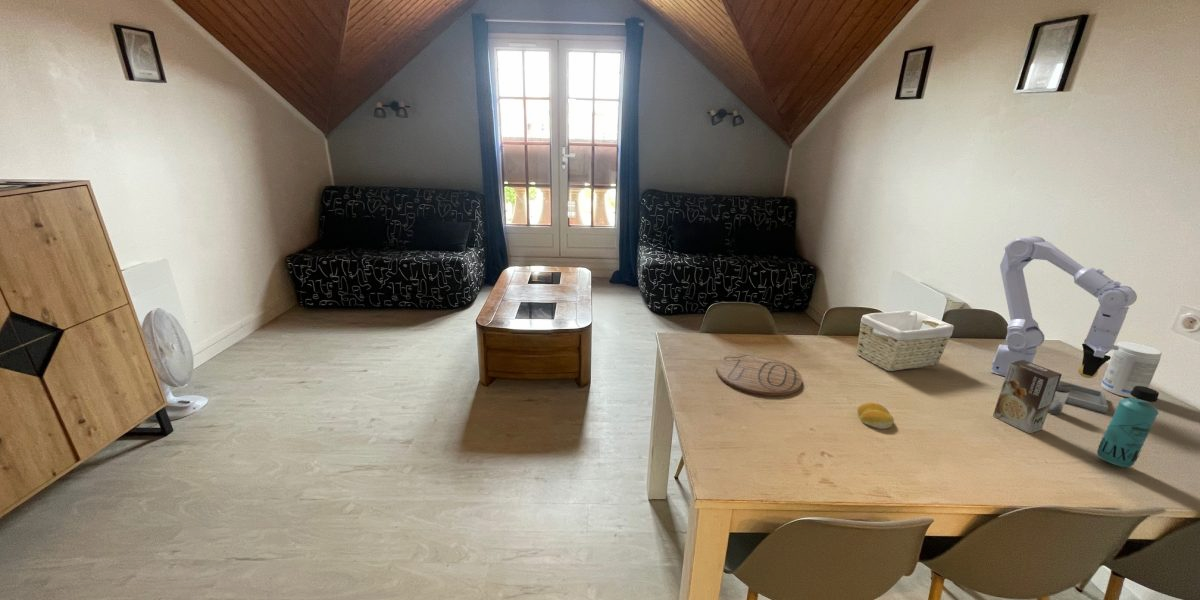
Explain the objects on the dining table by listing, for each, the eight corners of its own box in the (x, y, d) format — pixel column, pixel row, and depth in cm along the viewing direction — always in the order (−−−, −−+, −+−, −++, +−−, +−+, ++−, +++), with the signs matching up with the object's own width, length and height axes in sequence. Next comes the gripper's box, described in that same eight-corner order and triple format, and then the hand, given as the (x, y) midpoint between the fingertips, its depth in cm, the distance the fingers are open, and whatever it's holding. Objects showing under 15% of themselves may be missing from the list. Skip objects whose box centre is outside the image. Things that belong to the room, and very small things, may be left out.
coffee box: (1043, 429, 130) (1064, 374, 125) (1029, 434, 128) (1050, 378, 123) (1005, 411, 138) (1023, 359, 133) (990, 415, 136) (1008, 362, 130)
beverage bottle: (1085, 455, 120) (1117, 381, 113) (1110, 455, 121) (1143, 381, 114) (1114, 473, 114) (1149, 396, 107) (1140, 473, 114) (1177, 396, 108)
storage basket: (903, 347, 178) (913, 308, 174) (945, 367, 164) (958, 325, 159) (850, 354, 171) (859, 313, 166) (889, 375, 157) (901, 332, 152)
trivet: (709, 386, 146) (710, 380, 145) (722, 353, 168) (723, 348, 167) (800, 405, 137) (801, 399, 137) (801, 368, 159) (803, 363, 159)
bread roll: (863, 428, 128) (866, 414, 127) (853, 410, 136) (856, 397, 135) (898, 432, 127) (902, 418, 125) (885, 413, 135) (889, 400, 134)
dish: (1049, 398, 146) (1051, 392, 146) (1049, 384, 155) (1051, 378, 154) (1105, 413, 139) (1108, 407, 139) (1101, 397, 148) (1104, 391, 147)
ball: (1076, 377, 144) (1081, 364, 143) (1076, 372, 147) (1080, 360, 146) (1095, 382, 142) (1100, 369, 140) (1094, 377, 144) (1099, 364, 143)
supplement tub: (1147, 394, 151) (1167, 350, 146) (1139, 402, 146) (1159, 357, 141) (1104, 381, 159) (1122, 338, 154) (1095, 388, 154) (1113, 344, 149)
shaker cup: (1038, 410, 140) (1048, 384, 137) (1038, 404, 143) (1048, 378, 140) (1061, 417, 137) (1072, 390, 134) (1061, 410, 140) (1071, 384, 137)
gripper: (1128, 340, 131) (1108, 385, 136) (1122, 325, 142) (1104, 368, 147) (1091, 332, 136) (1074, 377, 140) (1088, 318, 146) (1072, 360, 151)
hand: (1087, 372), depth 144 cm, fingers closed on ball, 4 cm apart
